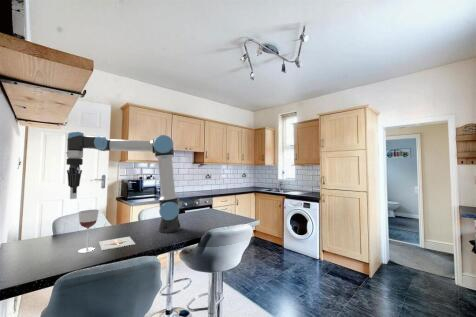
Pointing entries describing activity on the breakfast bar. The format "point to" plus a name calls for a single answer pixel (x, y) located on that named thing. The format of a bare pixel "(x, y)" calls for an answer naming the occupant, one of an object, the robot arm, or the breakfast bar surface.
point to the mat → (116, 243)
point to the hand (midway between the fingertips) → (73, 198)
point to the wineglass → (87, 224)
